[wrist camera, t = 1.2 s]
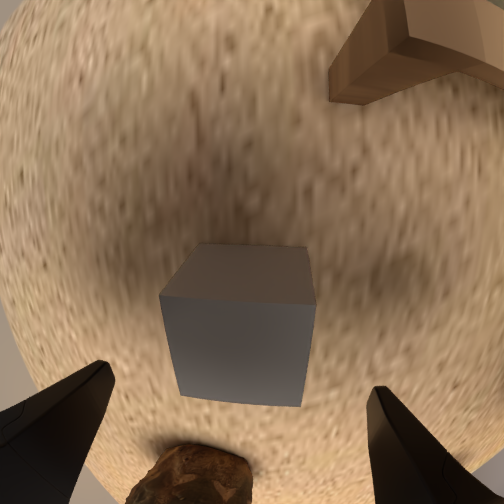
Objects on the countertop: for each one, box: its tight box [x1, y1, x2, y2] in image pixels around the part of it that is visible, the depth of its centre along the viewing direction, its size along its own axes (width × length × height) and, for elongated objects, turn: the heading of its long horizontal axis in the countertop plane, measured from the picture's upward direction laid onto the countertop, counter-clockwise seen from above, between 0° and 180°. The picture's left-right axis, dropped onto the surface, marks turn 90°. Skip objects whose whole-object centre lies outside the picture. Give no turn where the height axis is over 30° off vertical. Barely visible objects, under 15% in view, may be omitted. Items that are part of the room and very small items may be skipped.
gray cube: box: [159, 243, 316, 407], centre depth 12 cm, size 5×5×5 cm
